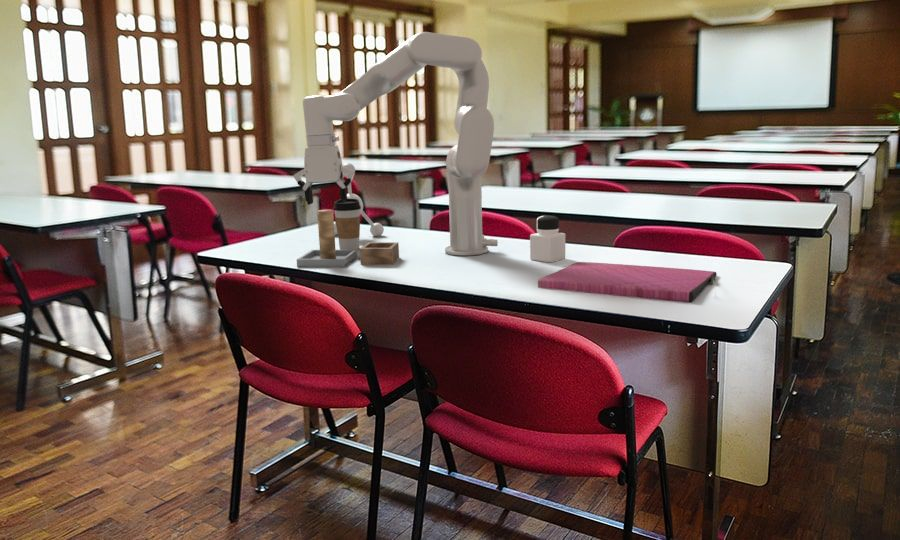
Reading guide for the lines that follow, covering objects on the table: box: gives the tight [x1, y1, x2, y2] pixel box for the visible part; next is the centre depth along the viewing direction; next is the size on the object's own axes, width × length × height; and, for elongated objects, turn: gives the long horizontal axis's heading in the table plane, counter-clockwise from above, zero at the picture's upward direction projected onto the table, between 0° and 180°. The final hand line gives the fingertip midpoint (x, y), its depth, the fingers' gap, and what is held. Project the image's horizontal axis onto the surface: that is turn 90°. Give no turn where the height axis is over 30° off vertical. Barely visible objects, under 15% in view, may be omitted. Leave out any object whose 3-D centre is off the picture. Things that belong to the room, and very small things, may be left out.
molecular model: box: [334, 162, 384, 237], centre depth 252 cm, size 18×20×25 cm
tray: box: [296, 249, 358, 268], centre depth 219 cm, size 14×14×2 cm
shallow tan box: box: [359, 241, 400, 265], centre depth 218 cm, size 9×9×4 cm
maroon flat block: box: [537, 261, 718, 303], centre depth 185 cm, size 40×4×27 cm
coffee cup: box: [332, 199, 361, 250], centre depth 236 cm, size 8×8×15 cm
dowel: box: [316, 209, 337, 259], centre depth 218 cm, size 4×4×14 cm
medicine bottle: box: [529, 215, 566, 263], centre depth 213 cm, size 7×7×12 cm
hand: (326, 203), depth 216 cm, fingers open, 9 cm apart
